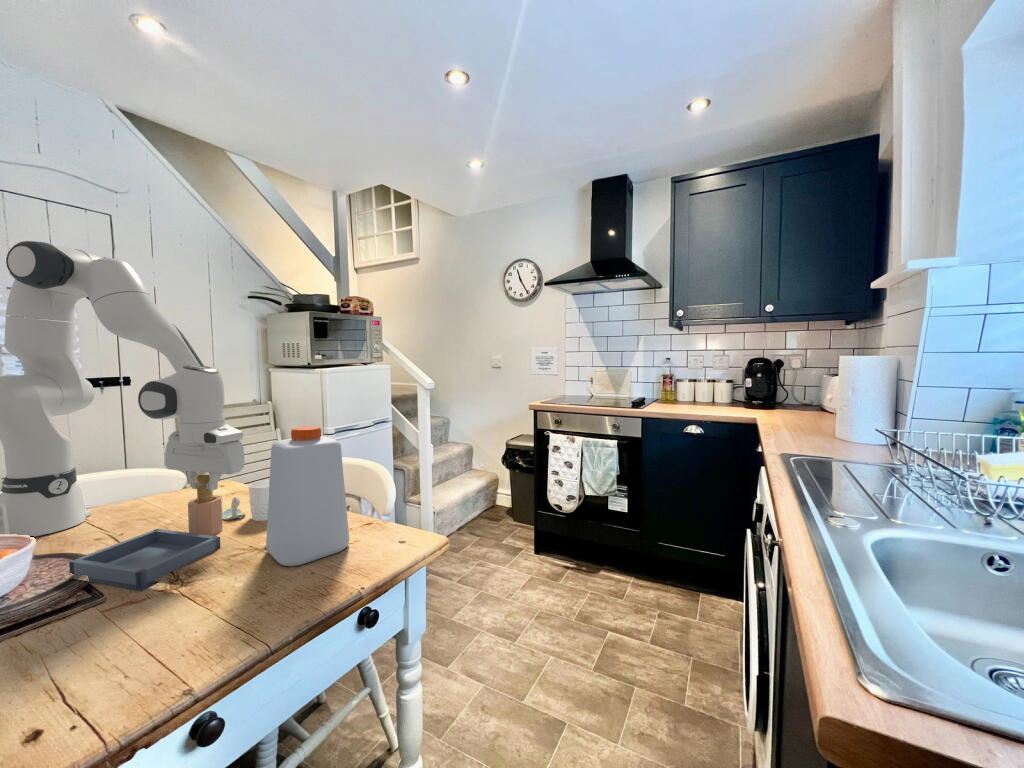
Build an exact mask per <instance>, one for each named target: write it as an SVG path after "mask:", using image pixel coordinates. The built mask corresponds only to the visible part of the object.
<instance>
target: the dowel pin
mask: <svg viewBox="0 0 1024 768" xmlns="http://www.w3.org/2000/svg"><path fill="white" fill-rule="evenodd" d="M210 479H211V477H209V473H203V474H202V473H201V474H199V475H198V476H197V489H196V492H197V493H196V496H197V497H196V498H197V501H198V503H204V502H210V501H213V495H214V492H213V491H214V490H213V491H210V490H206V488H207V487H206V483H209V481H210Z"/></svg>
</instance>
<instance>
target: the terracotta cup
mask: <svg viewBox="0 0 1024 768" xmlns="http://www.w3.org/2000/svg"><path fill="white" fill-rule="evenodd" d="M187 513H188V514H187V515H188V516H187V517H188V519H187V520H188V533H194V534H202V535H210V536H215V535H217V534H218V533H221V532H222V531H223V528H224V526H223V524H224V520H223V516H222V513H223V496H222V495H219V494H218V495H216V494H213V501H210V502H204V503H198V501H197V497H196V498H193V499H189V501H188V502H187Z"/></svg>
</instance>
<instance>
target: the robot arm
mask: <svg viewBox="0 0 1024 768" xmlns="http://www.w3.org/2000/svg"><path fill="white" fill-rule="evenodd" d="M5 261H6V262H5V263H6V267H7V270H8V271H9V275H11V277H12V278H13V279H14V281H13V283H12V285H11V288H10V291H9V295H8V298H7V302H6V310H5V321H4V322H5V325H4V345H3V346H4V348H5V350H6V351H7V352H8V353H10V354H11V355H13V356H15V357H16V358H17V359H18V360H19V362H20V365H21V367H22V369H23V373H24V374H20V375H19V374H18V375H17V374H16V375H14V374H13V375H12V374H11V375H2V376H0V442H1V444H2V448H3V455H4V464H5V473H6V474H5V475H6V476H4V477H3V478H1V480H3V481H0V483H1V488H0V489H1V490H0V491H1V493H0V534H17V535H29V536H34V537H39V536H44V535H47V534H52V533H56V532H61V531H64V530H68V529H69V528H73V527H74V526H77V525H80V524H83V522H85V520H86V518H87V517H89V516H91V515H92V511H91V509H87V508H86V502H85V497H84V491H83V487H82V486H80V485H78V484H76V483H77V480H78V479H77V478H78V477H77V476H78V473H77V469H76V467H74V454H73V453H74V452H73V441H72V438H70V437H69V436H68V435H66V434H64V433H61V432H60V431H59V430H58V429H57V426H56V425H55V423H54V420H53V417H57V416H64V415H69V414H72V413H75V412H78V411H80V410H83V409H86V408H87V407H89V406H90V405H91V404H92V402H93V401H94V399H95V394H96V393H95V392H96V391H95V389H94V386H93V385H92V383H91V382H90V381H89V380H88V379H86V378H85V377H84V376H83V374H82V373H81V371H80V369H79V367H78V365H77V362H76V359H75V353H74V326H75V323H74V322H75V306H76V304H77V303H78V301H80V300H81V299H83V298H86V299H87V300H88V301H89V302H90V303H91V307H92V308H93V311H94V313H95V316H96V317H97V318H98V320H99V322H100V323H101V324H102V326H103V327H104V328H105V329H106V331H108V332H110V333H111V334H113V335H115V336H117V337H119V338H121V339H125V340H128V341H131V342H135V343H138V344H142V345H143V346H147V347H149V348H152V349H154V350H155V351H158V352H159V353H161V354H162V355H163V356H165V358H166V359H167V360H168V362H169V364H170V366H172V368H173V369H174V371H175V372H174V373H173V374H171V375H168V376H165V377H162V378H159V379H155V380H150V381H148V382H146V383H145V384H144V385H143V386H142V387H141V388H140V390H139V392H138V396H137V403H138V407H139V409H140V410H141V412H142V413H143V414H144V415H145V416H147V417H149V418H150V419H153V420H169V419H174V418H175V419H178V421H179V422H178V428H179V431H176V430H175V431H173V432H172V433H171V434H169V435H168V439H167V440H168V441H167V442H166V445H165V451H164V452H165V453H164V466H165V467H166V469H167V470H174V471H186V476H187V478H188V479H189V481H190V483H191V489H193V490H197V476H198V475H200V473H205V474H209V477H211V479H210V481H209V483H206V487H207V488H206V490H210V491H216V490H218V488H219V481H220V479H221V477H222V475H233V474H237V473H240V472H242V470H243V469H244V467H245V449H244V445H243V442H241V441H240V440H242V439H243V438H244V433H243V431H242V430H240V429H238V428H235V427H233V426H231V425H229V424H227V423H226V417H225V414H224V411H223V410H224V406H225V388H224V380H223V377H222V374H221V372H220V371H219V370H218V369H216V368H215V367H211V366H205V365H204V363H203V362H202V360H201V359H200V358H199V356H198V354H197V353H196V351H195V349H194V348H193V347H192V346H191V344H190V343H189V341H188V339H187V338H186V337H185V335H184V334H183V332H182V331H181V330H180V329H179V328H178V327H177V325H175V324H173V323H172V322H171V321H170V320H169V319H168V318H167V317H166V316H165V315H164V313H163V312H162V311H161V310H160V308H159V307H158V305H156V303H155V301H154V299H153V297H152V296H151V293H150V292H149V289H148V288H147V286H146V284H145V282H144V281H143V280H142V278H141V276H140V275H139V274H138V273H137V272H136V271H135V269H134V268H133V267H132V266H131V264H129V263H127V262H126V261H124V260H121V259H118V258H113V257H106V256H105V257H102V256H100V255H97V254H94V253H93V252H92V253H91V252H89V251H85V250H83V249H82V250H81V249H76V248H75V249H74V248H69V247H65V246H59V245H56V244H55V245H54V244H53V245H52V244H50V243H48V242H42V241H34V240H33V241H32V240H25V241H24V240H23V241H20V242H19V241H18V242H17V243H15V244H14V245H13V246H12V247H11V248H9V250H8V253H7V254H6V259H5Z"/></svg>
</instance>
